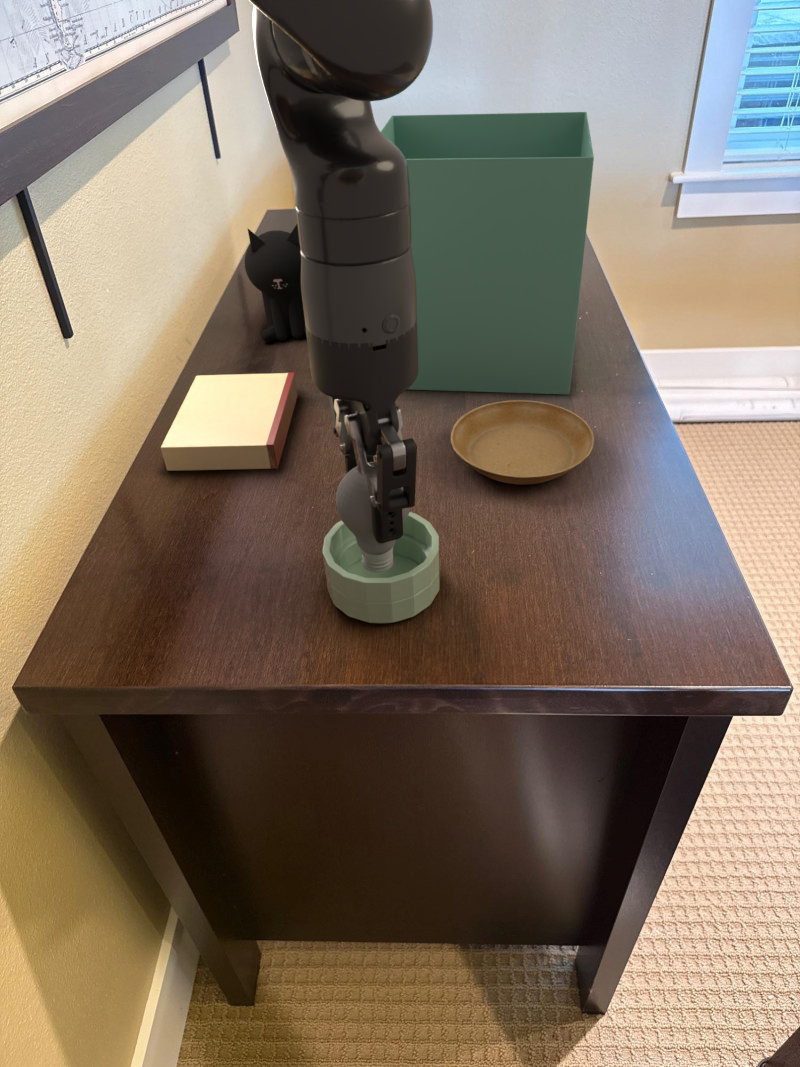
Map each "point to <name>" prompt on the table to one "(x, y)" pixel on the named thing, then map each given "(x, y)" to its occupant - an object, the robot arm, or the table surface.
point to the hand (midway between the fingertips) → (374, 513)
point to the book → (232, 423)
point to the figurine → (278, 281)
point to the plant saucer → (522, 441)
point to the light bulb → (363, 521)
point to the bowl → (383, 574)
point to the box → (496, 246)
